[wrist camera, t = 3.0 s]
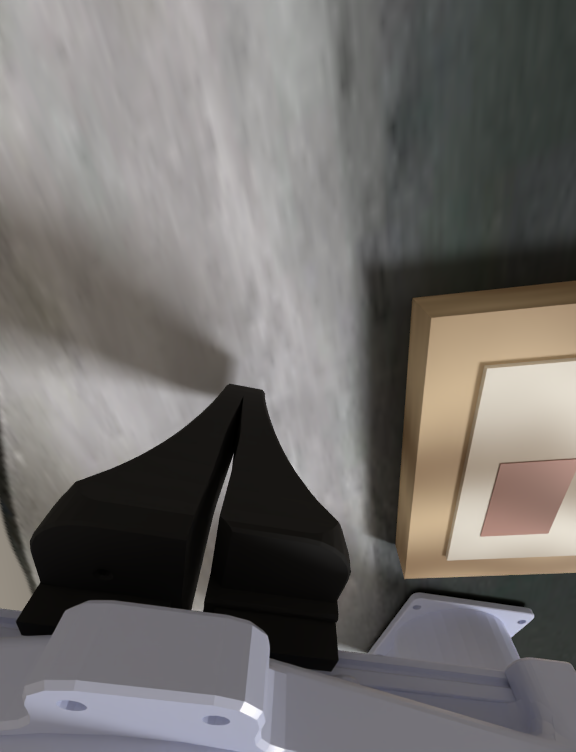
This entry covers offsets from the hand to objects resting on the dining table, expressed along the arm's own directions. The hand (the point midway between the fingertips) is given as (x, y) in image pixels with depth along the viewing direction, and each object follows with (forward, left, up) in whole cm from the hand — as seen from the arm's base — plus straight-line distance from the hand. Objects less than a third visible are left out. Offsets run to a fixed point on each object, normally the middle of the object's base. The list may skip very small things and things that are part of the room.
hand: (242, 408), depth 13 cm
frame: (0, -12, -2) cm, 12 cm away
